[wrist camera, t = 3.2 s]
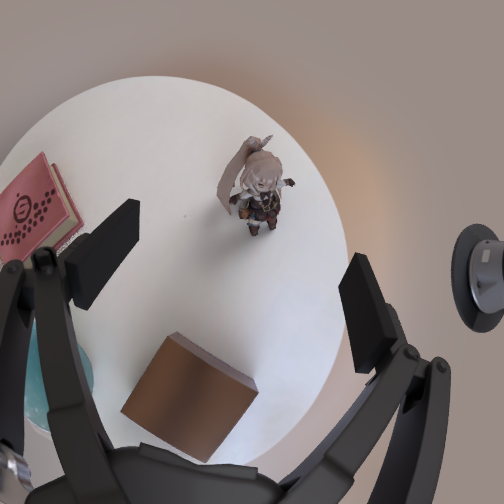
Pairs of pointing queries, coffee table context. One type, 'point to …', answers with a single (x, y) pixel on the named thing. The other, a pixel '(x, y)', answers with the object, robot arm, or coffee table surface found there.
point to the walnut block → (189, 398)
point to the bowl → (35, 388)
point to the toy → (254, 184)
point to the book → (36, 212)
